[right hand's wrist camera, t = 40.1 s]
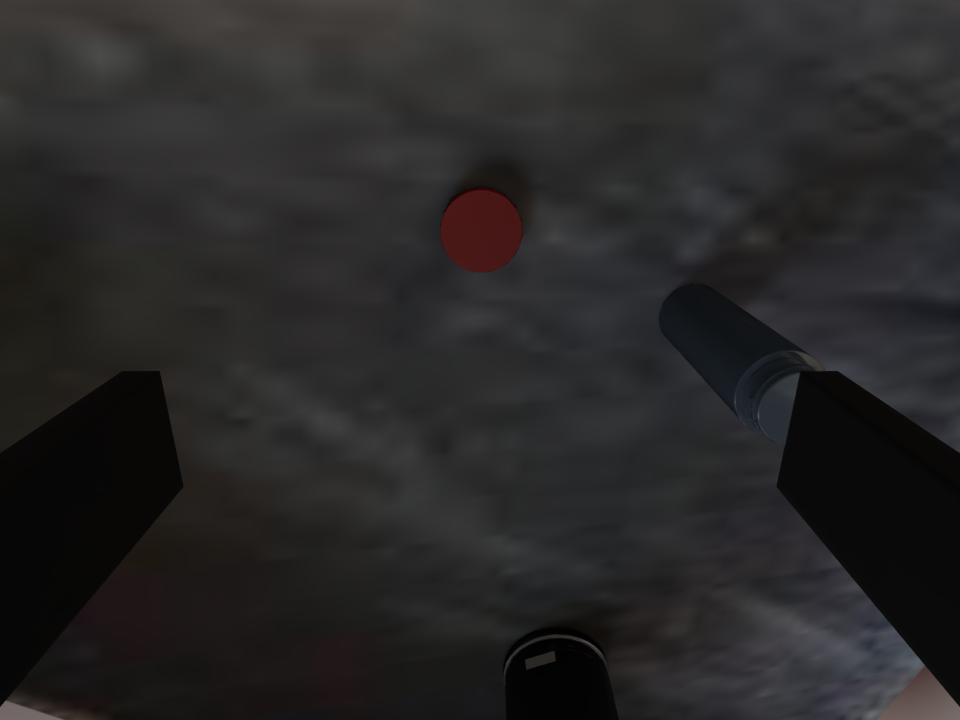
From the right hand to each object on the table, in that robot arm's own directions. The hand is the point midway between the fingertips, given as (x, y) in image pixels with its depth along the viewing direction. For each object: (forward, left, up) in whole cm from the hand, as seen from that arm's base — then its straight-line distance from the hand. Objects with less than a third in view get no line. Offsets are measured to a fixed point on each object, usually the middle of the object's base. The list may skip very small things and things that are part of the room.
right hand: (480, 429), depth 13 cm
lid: (0, 0, -28) cm, 28 cm away
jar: (+3, +16, -30) cm, 34 cm away
